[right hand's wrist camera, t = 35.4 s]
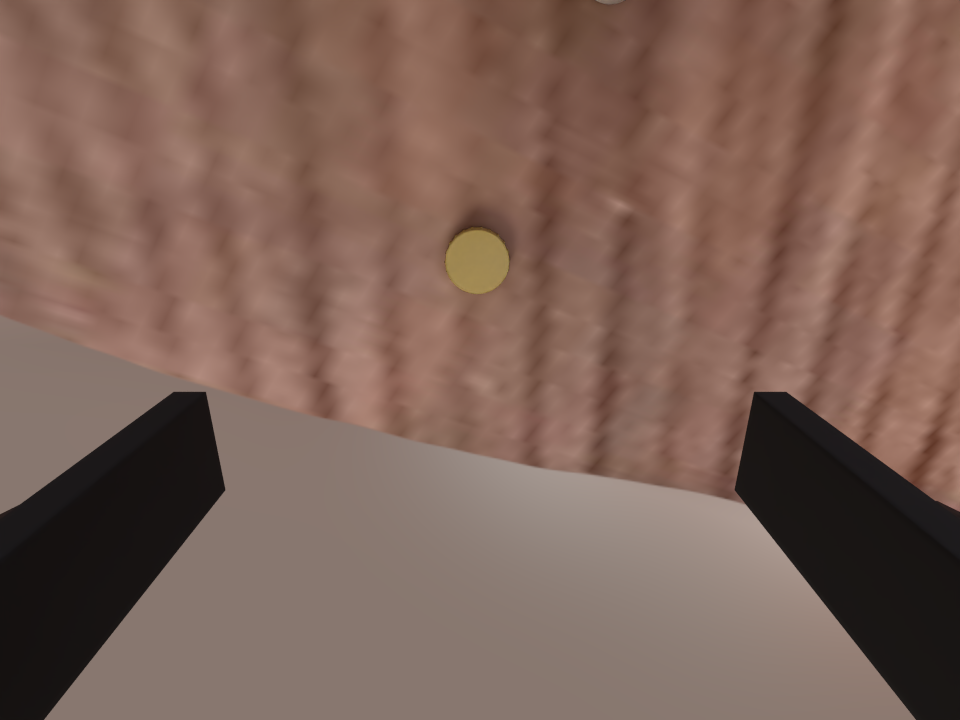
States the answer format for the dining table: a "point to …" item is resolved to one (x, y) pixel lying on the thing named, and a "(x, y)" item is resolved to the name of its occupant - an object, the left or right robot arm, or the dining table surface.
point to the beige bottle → (610, 1)
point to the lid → (477, 260)
